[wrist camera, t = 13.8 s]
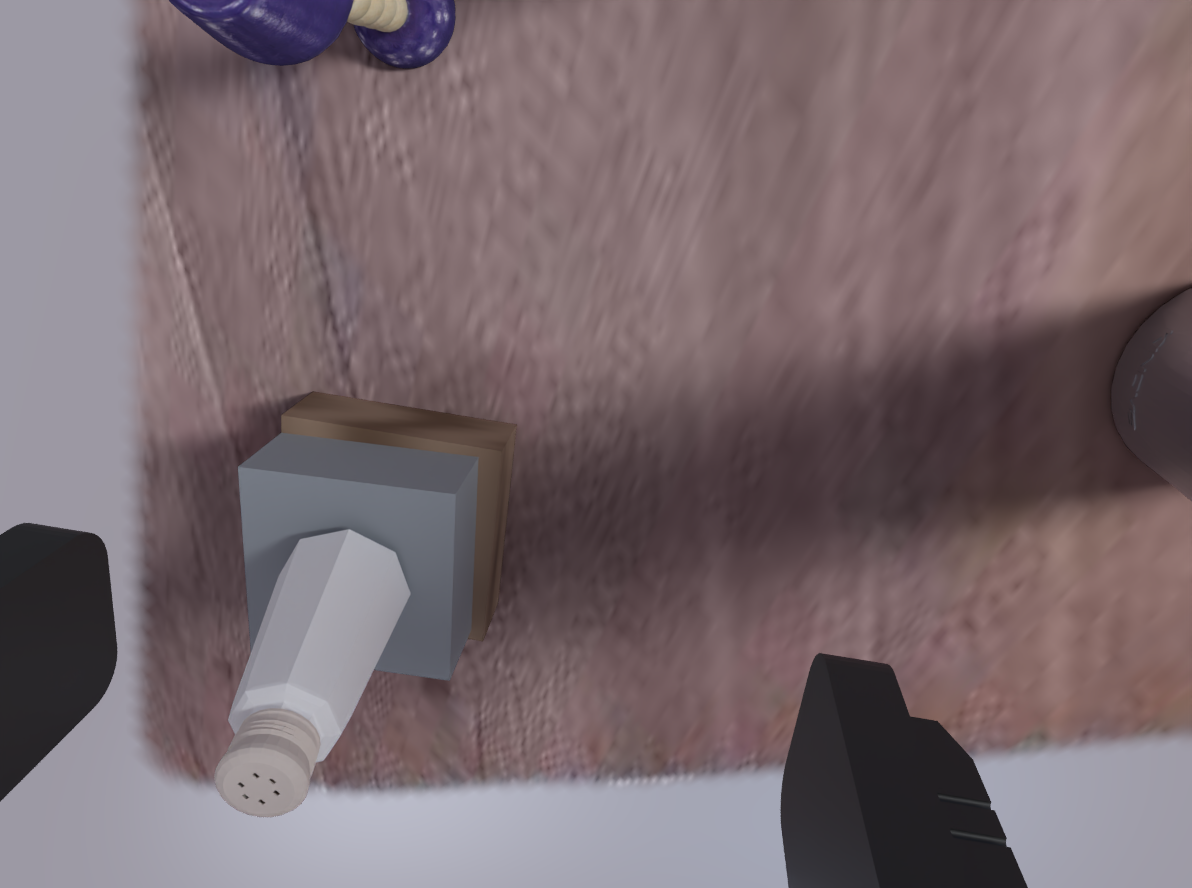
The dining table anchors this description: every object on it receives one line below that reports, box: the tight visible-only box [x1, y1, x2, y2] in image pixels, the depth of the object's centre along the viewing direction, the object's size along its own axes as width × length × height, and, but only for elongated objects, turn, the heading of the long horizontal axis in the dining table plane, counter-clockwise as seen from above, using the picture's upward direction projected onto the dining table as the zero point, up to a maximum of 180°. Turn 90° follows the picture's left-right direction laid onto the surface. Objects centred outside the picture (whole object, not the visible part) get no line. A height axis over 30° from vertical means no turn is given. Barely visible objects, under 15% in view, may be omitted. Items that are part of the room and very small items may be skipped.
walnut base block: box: [281, 392, 517, 641], centre depth 42 cm, size 10×10×4 cm
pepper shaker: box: [214, 529, 411, 817], centre depth 31 cm, size 5×5×11 cm
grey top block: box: [238, 433, 479, 681], centre depth 38 cm, size 9×9×4 cm
